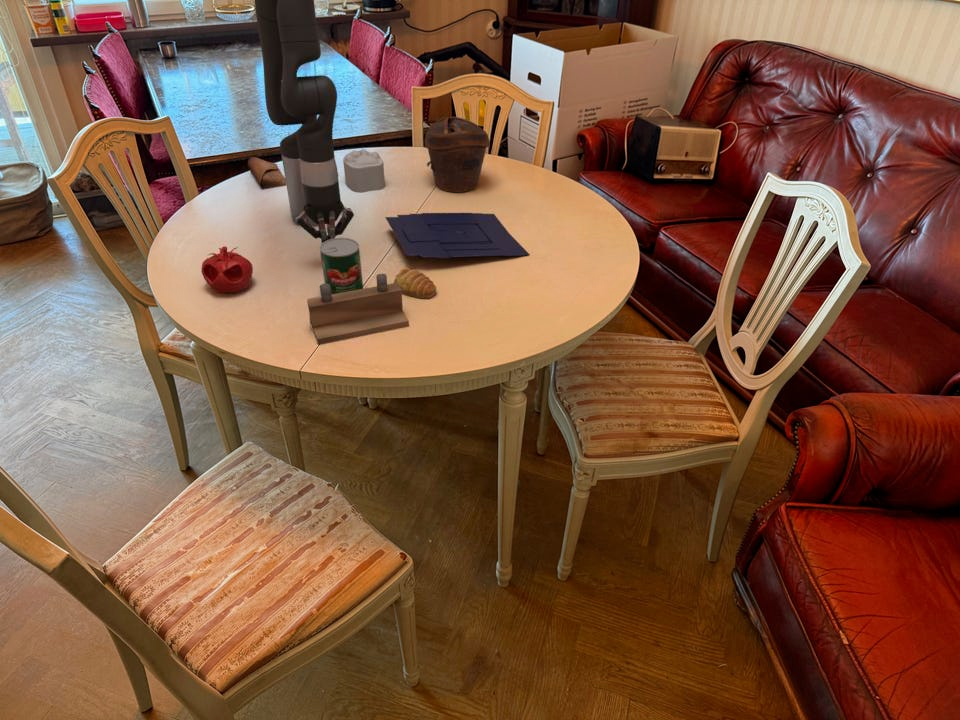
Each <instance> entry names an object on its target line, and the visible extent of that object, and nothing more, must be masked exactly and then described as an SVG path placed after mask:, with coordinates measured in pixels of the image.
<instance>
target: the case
mask: <svg viewBox="0 0 960 720" xmlns="http://www.w3.org/2000/svg"><path fill="white" fill-rule="evenodd" d="M490 144H491V143H490V138H489V134H488V133H487V131H485V130H484V129H482V127H481V126H479V125H478V124H476V123H474V122H473V121H470V120H468V119H465V118H463V117H459V116H446V117H442V118H440V119H437V120H436V121H435V122H433V123H431V125H430V126H429V128H428V129H427V132H426V134H425V138H424V146H425V149H427V150H428V151H427V152H428V155H429V161H427V163H426V166H427V167H428V168H429V166H430V170H431V171H432V174H433V180H434V184H435V185H436V186H437V187H438V189H440V190H443V191H446V192H451V193H461V192H468V191H472V190H474V189H475V188H476V187H478V185H479V180H480V176H481V172H482V168H483V165H484V159H485V155H486V151H487V148H488V149H490V146H491V145H490Z"/></svg>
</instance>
